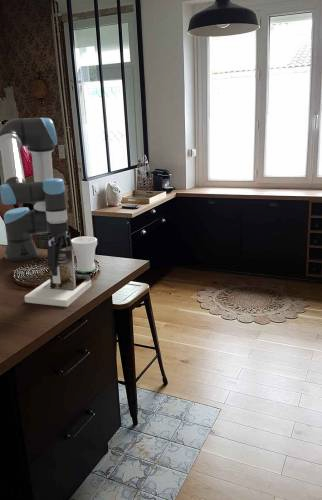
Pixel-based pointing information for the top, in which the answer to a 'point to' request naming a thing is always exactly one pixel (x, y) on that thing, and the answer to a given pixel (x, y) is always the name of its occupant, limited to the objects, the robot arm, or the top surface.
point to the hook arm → (83, 277)
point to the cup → (84, 253)
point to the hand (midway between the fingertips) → (63, 278)
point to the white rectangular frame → (55, 294)
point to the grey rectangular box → (65, 270)
